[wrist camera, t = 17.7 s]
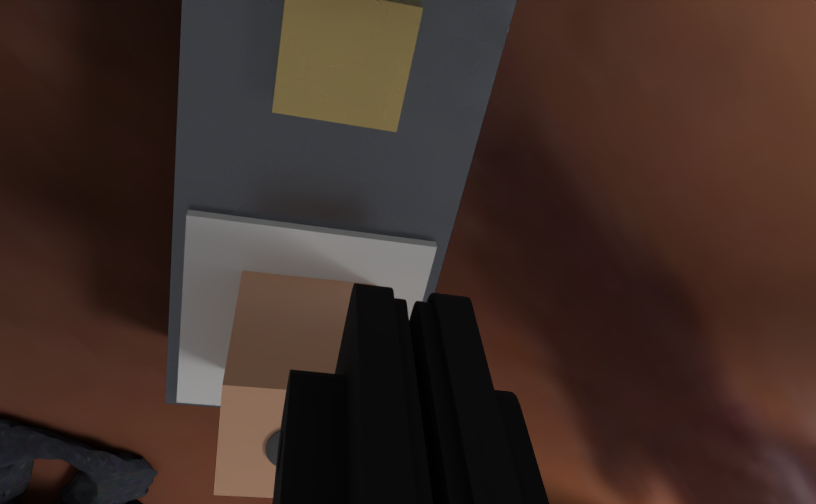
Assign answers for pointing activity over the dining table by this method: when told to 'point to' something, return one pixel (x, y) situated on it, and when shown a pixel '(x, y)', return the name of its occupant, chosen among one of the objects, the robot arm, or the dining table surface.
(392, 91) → the brass press plunger
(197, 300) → the press bed
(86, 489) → the dark grey folded cloth
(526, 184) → the dining table surface
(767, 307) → the dining table surface
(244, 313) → the housing
